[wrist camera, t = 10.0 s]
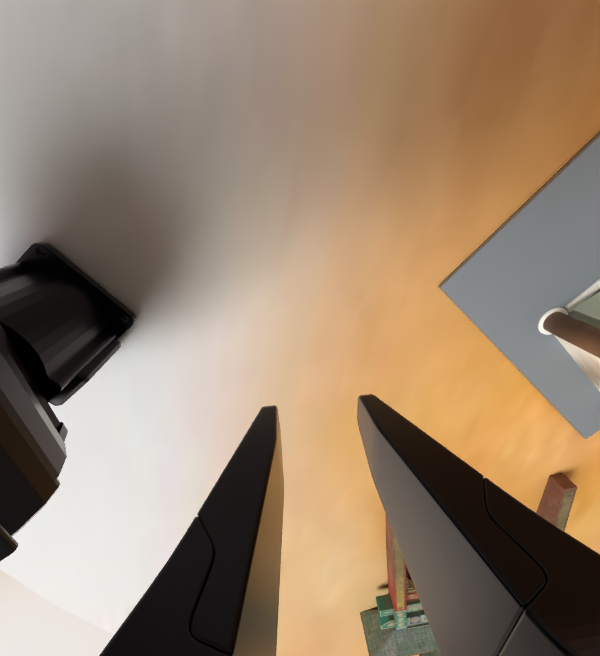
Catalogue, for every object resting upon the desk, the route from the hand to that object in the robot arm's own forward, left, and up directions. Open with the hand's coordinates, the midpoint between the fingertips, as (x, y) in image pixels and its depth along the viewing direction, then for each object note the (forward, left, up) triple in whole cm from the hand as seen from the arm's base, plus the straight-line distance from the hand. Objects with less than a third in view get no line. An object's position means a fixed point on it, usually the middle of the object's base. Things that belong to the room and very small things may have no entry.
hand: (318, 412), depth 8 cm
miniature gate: (+42, -7, -13) cm, 45 cm away
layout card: (+17, +17, -12) cm, 27 cm away
